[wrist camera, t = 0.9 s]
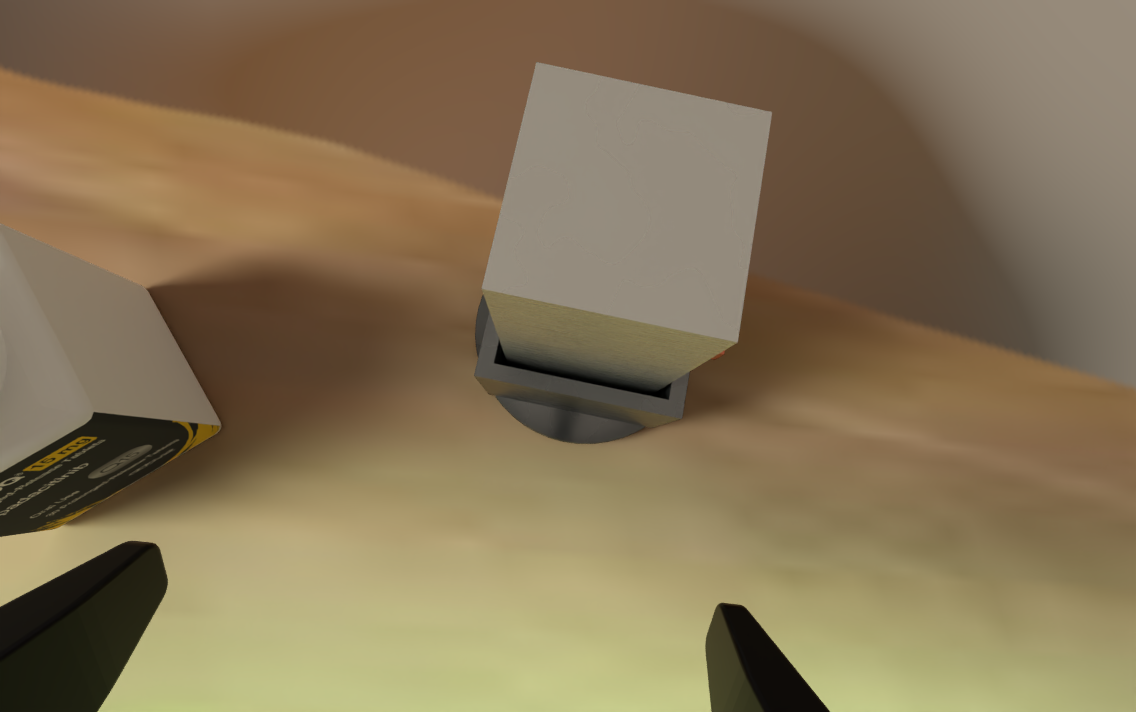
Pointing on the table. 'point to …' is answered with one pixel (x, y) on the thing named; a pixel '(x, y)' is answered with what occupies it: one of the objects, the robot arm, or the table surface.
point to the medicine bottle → (84, 386)
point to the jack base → (570, 397)
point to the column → (624, 230)
